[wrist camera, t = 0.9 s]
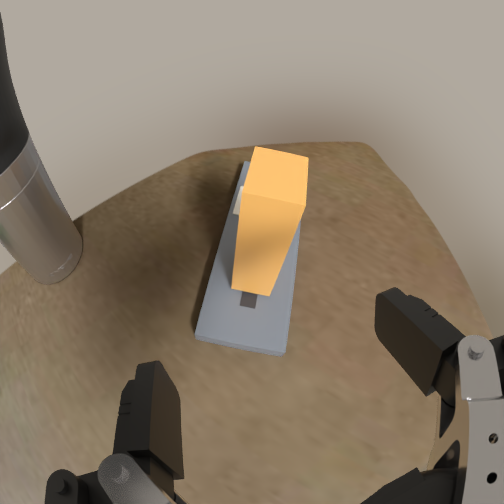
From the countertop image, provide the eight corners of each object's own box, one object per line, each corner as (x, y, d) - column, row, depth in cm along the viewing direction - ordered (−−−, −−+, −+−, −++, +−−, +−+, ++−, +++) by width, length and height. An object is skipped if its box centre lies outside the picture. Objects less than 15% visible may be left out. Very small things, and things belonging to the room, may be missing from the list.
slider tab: (269, 296, 29) (305, 205, 17) (231, 288, 29) (242, 192, 17) (275, 256, 32) (308, 157, 20) (240, 248, 32) (255, 146, 20)
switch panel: (281, 356, 28) (285, 352, 26) (196, 339, 28) (194, 334, 26) (301, 183, 42) (304, 173, 40) (243, 170, 42) (244, 160, 40)
